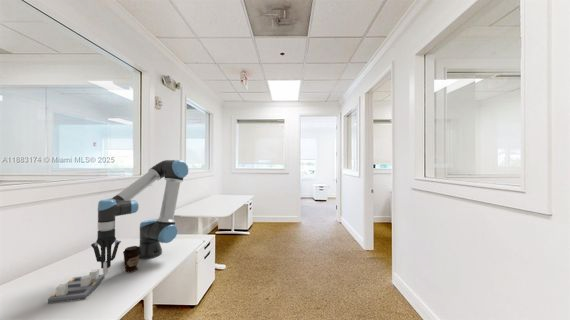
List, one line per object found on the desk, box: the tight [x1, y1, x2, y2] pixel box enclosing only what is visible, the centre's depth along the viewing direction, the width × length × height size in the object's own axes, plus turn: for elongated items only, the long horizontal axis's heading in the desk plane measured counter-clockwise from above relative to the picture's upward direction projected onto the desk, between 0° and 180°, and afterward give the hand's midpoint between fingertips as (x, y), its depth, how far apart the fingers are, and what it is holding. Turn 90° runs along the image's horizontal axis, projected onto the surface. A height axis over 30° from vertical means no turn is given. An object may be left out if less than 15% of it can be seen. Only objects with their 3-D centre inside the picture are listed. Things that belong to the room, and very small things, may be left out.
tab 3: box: [88, 268, 100, 280], centre depth 129 cm, size 3×3×4 cm
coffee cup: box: [122, 245, 140, 274], centre depth 142 cm, size 9×8×13 cm
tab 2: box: [81, 275, 91, 287], centre depth 122 cm, size 3×3×4 cm
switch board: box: [47, 273, 106, 304], centre depth 121 cm, size 14×21×2 cm, turn 16°
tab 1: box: [55, 283, 68, 296], centre depth 113 cm, size 3×3×4 cm
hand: (105, 273), depth 130 cm, fingers closed
